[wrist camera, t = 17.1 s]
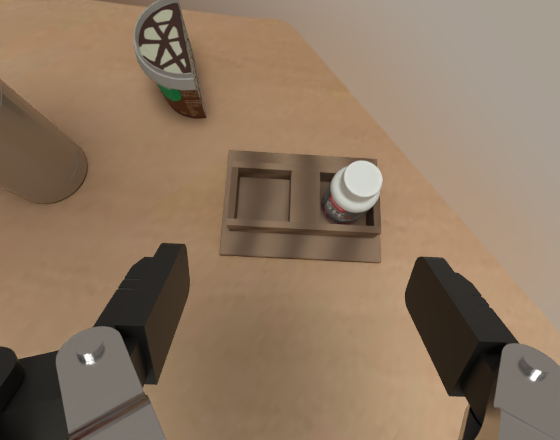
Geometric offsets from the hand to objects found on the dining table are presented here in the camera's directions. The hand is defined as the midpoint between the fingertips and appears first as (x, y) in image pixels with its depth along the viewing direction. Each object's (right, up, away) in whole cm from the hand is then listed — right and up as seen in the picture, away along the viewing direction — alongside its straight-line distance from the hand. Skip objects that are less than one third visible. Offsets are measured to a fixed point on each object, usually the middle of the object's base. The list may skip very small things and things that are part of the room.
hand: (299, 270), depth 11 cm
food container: (-15, +20, +35) cm, 43 cm away
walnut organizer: (+2, +4, +31) cm, 31 cm away
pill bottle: (+7, +3, +30) cm, 31 cm away
